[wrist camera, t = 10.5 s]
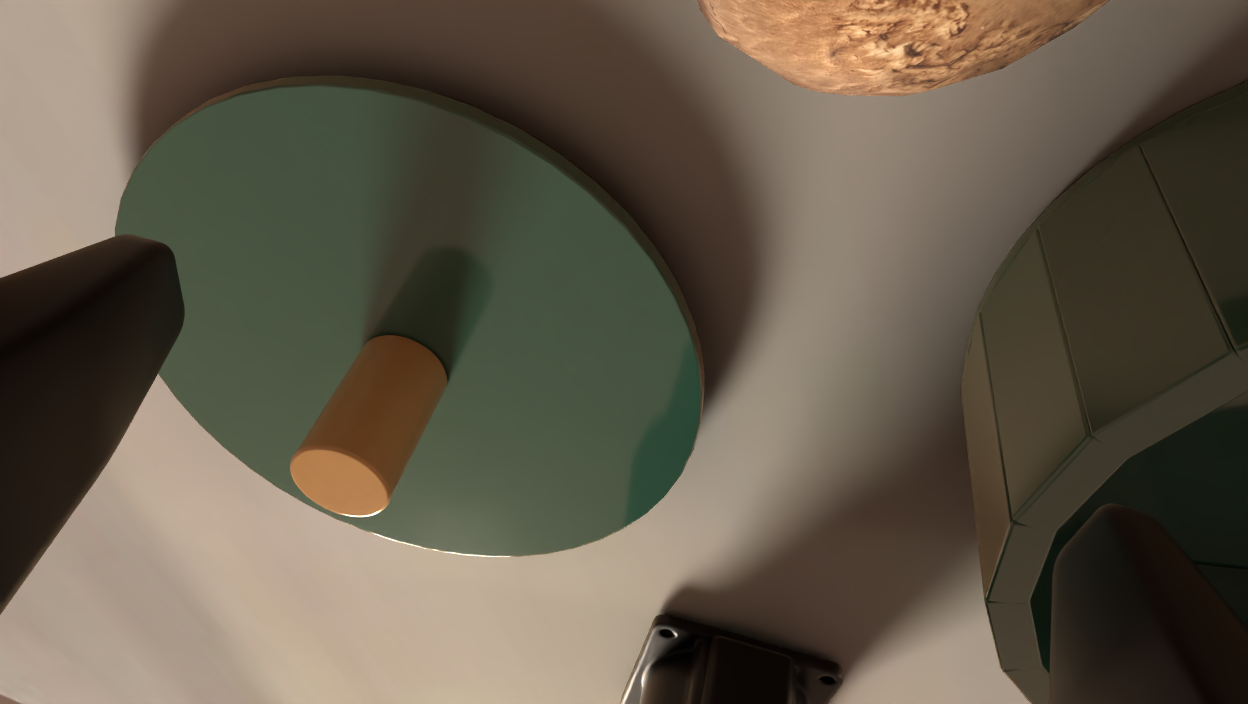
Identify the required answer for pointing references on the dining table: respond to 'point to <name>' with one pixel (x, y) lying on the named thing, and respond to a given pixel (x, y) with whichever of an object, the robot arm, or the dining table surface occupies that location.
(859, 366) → the dining table surface
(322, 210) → the pot lid
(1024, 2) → the mushroom
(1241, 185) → the pot
